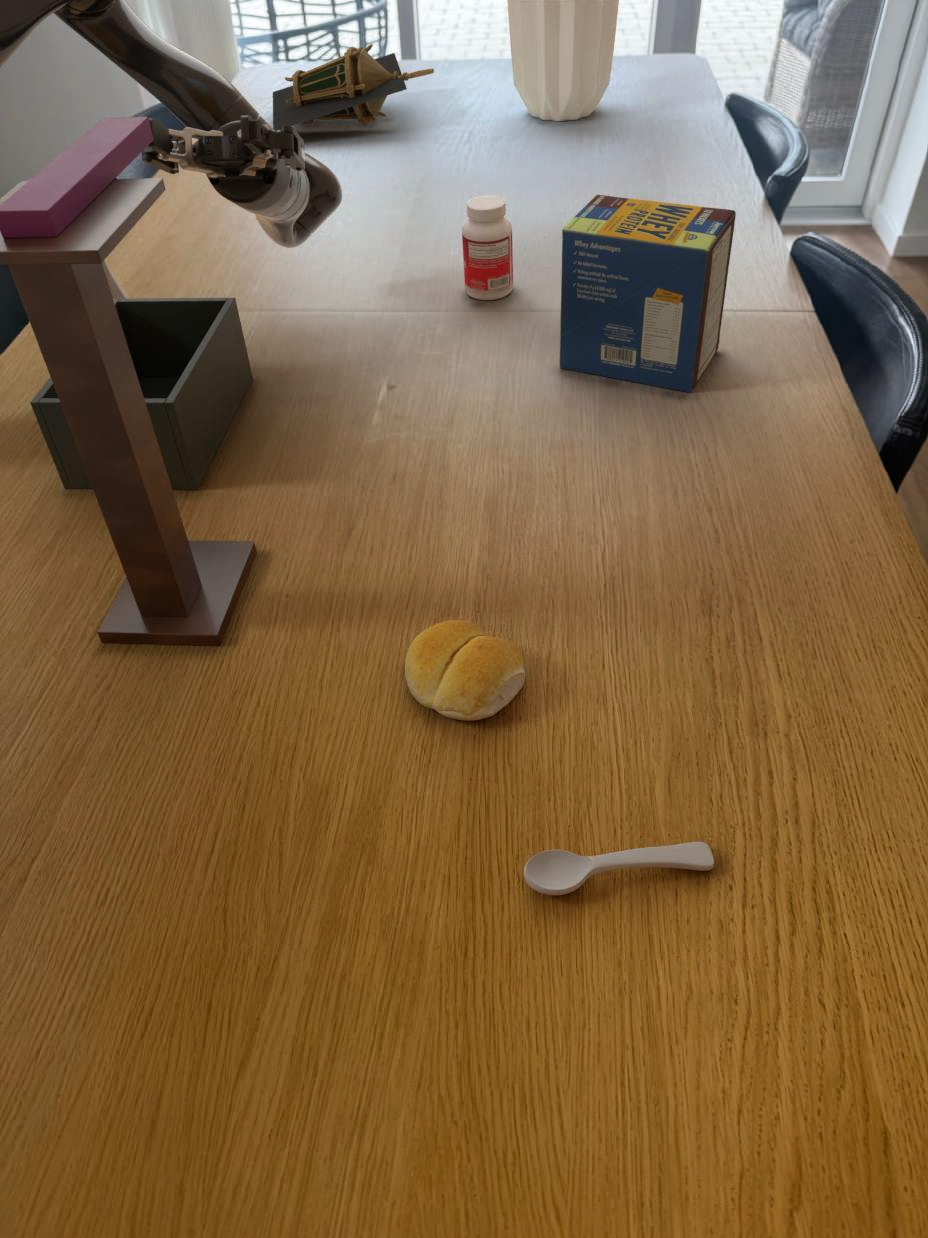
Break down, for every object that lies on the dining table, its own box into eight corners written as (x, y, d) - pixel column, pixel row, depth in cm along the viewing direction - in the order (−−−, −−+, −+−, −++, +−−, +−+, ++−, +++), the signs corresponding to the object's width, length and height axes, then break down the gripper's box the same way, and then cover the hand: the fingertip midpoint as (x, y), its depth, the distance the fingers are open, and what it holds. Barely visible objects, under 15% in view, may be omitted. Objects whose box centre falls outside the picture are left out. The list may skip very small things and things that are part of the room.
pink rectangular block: (2, 238, 58) (-8, 211, 57) (109, 141, 71) (102, 117, 70) (56, 237, 57) (47, 210, 56) (154, 139, 70) (148, 116, 69)
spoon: (518, 863, 61) (520, 845, 60) (700, 846, 62) (706, 827, 61) (526, 905, 59) (529, 887, 58) (715, 886, 60) (721, 868, 59)
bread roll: (451, 627, 78) (448, 589, 75) (541, 675, 73) (541, 637, 71) (381, 687, 73) (375, 649, 70) (472, 742, 69) (469, 704, 66)
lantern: (289, 129, 190) (432, 70, 186) (294, 181, 174) (450, 118, 171) (257, 58, 180) (408, -6, 176) (259, 106, 164) (424, 38, 161)
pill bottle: (478, 277, 126) (474, 189, 118) (521, 284, 124) (520, 195, 116) (456, 297, 122) (451, 207, 114) (500, 304, 120) (498, 214, 112)
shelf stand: (101, 642, 78) (-66, 252, 57) (149, 549, 87) (20, 180, 65) (220, 646, 77) (97, 250, 56) (257, 551, 86) (163, 177, 64)
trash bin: (64, 488, 95) (29, 402, 88) (137, 378, 111) (112, 298, 104) (198, 490, 94) (172, 402, 87) (253, 378, 109) (235, 297, 103)
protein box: (590, 328, 114) (595, 192, 104) (719, 350, 109) (738, 209, 98) (556, 368, 107) (558, 228, 97) (692, 394, 102) (710, 248, 91)
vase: (501, 101, 183) (497, -76, 164) (602, 92, 184) (610, -84, 165) (516, 132, 169) (514, -57, 150) (626, 123, 170) (638, -67, 151)
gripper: (185, 133, 98) (113, 83, 83) (322, 129, 97) (275, 78, 81) (190, 212, 100) (120, 178, 84) (324, 209, 99) (279, 174, 83)
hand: (196, 129), depth 83 cm, fingers open, 8 cm apart
